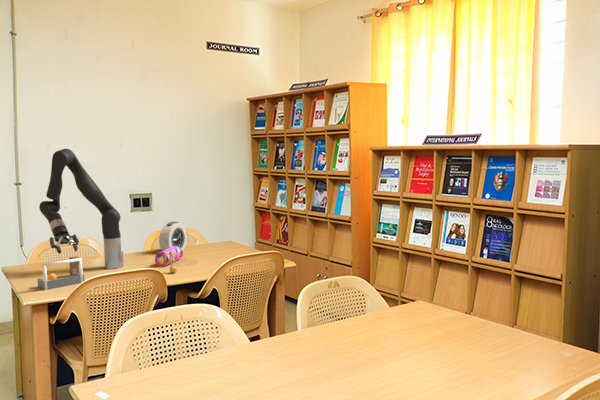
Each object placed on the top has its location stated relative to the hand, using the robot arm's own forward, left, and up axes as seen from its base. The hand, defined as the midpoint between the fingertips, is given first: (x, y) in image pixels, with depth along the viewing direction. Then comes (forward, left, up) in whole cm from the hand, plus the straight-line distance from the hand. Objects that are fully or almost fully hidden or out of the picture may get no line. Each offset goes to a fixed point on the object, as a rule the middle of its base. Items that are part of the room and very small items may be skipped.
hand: (68, 251), depth 272 cm
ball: (+13, +11, -10) cm, 20 cm away
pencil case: (-51, +19, -12) cm, 56 cm away
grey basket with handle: (+13, +21, -12) cm, 27 cm away
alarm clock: (-73, -10, -12) cm, 75 cm away
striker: (0, +8, -12) cm, 14 cm away
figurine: (-38, +43, -12) cm, 58 cm away
